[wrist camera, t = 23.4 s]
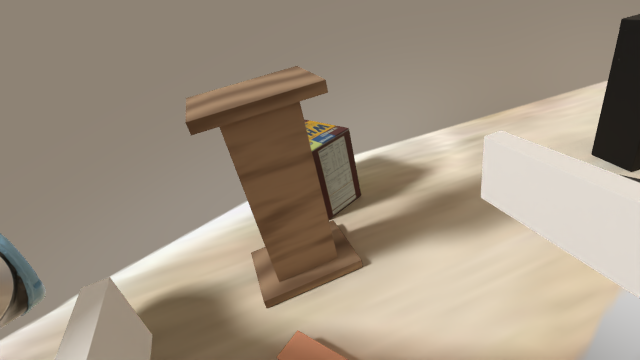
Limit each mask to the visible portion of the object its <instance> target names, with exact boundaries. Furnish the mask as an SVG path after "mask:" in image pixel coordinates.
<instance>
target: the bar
mask: <svg viewBox="0 0 640 360" xmlns="http://www.w3.org/2000/svg"><path fill="white" fill-rule="evenodd" d="M277 358H278V360H348V359H346V358H344V357H343V356H341V355H339V354H338V353H336V352H334V351H332V350H331V349H329V348H327V347H326V346H324V345H322V344H320V343H319V342H317V341H315V340H313V339H312V338H310V337H308V336H307V335H305V334H303V333H301V332H300V331H297V332H296V333H295V334H294V336H293V337H292V338H291V340H290V341H289V342H288V343H287V345H286V346H285V347H284V348H283V350H282V351H281V352H280V354H279V355H278V356H277Z"/></svg>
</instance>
